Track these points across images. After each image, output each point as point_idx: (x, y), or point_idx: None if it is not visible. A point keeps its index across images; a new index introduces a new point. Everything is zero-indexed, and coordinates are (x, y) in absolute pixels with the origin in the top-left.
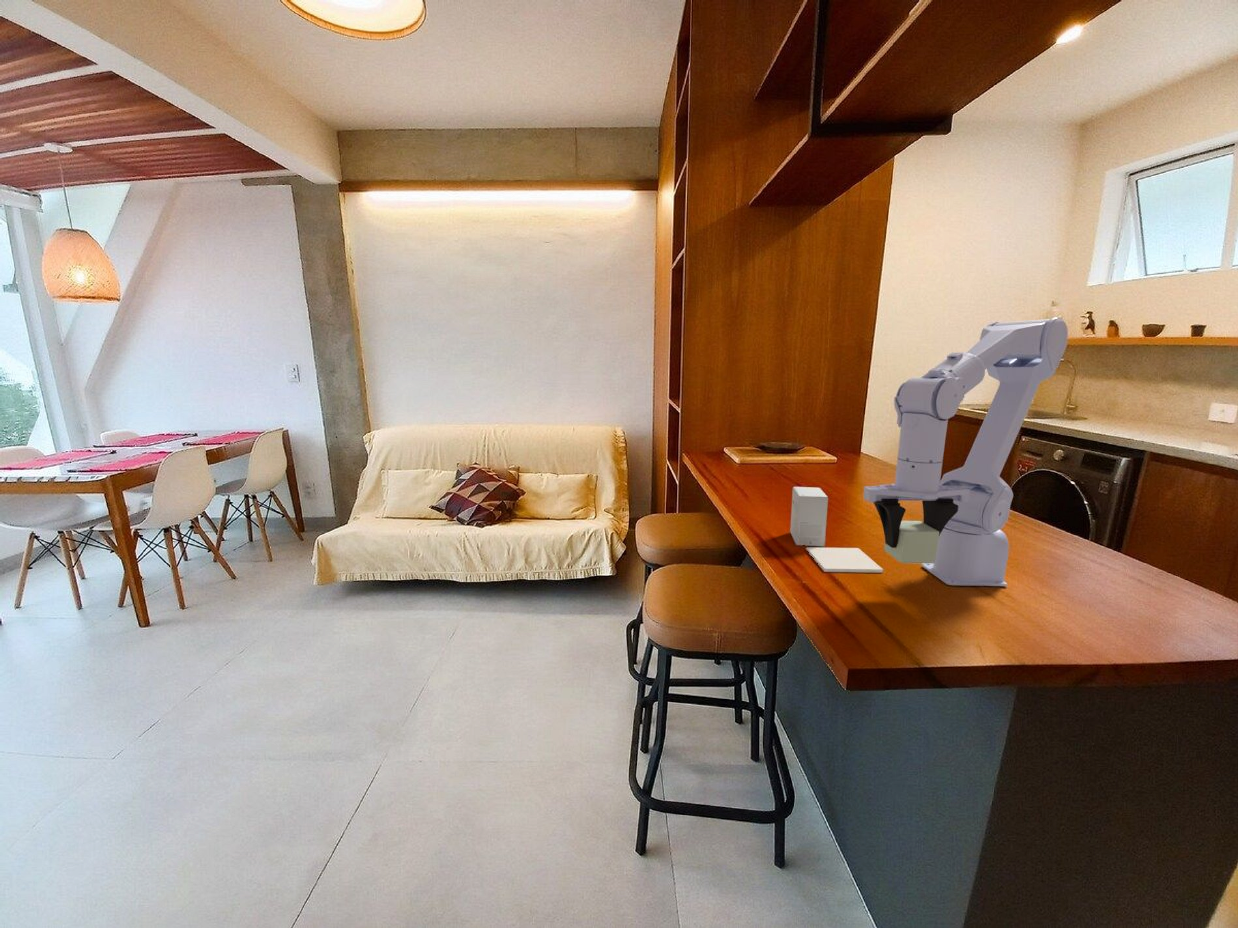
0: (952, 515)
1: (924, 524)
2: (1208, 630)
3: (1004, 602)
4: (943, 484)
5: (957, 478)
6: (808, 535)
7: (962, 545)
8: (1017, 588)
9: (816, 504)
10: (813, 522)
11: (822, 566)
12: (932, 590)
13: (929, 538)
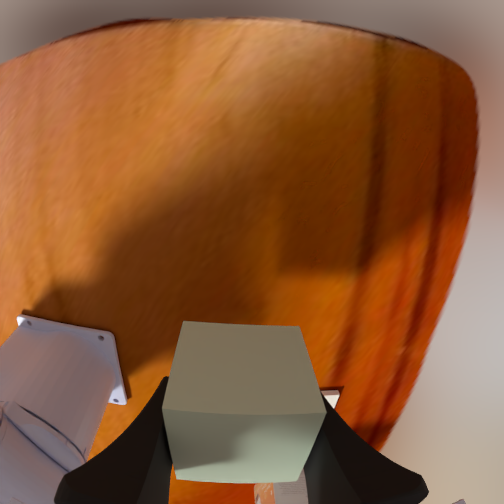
0: (87, 466)
1: (179, 461)
2: None
3: (44, 259)
4: None
5: None
6: (301, 476)
7: (57, 397)
8: (8, 306)
9: None
10: (298, 497)
11: (335, 402)
12: (155, 318)
13: (207, 388)
